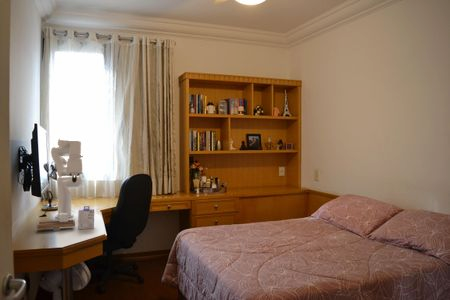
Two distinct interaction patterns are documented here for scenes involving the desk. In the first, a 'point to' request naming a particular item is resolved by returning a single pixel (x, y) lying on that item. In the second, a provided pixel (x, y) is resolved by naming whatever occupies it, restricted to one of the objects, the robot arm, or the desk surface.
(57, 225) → the beam
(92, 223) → the ink cartridge box
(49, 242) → the desk surface
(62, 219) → the rider
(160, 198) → the desk surface
